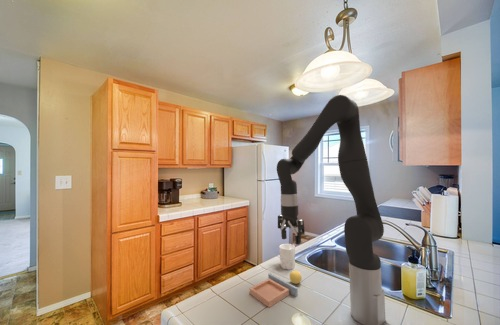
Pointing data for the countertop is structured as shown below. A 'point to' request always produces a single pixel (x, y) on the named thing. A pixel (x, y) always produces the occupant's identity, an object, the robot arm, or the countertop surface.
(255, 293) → the pink square tray
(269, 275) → the fence
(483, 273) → the countertop surface
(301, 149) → the robot arm
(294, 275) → the ball
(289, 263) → the white cup
